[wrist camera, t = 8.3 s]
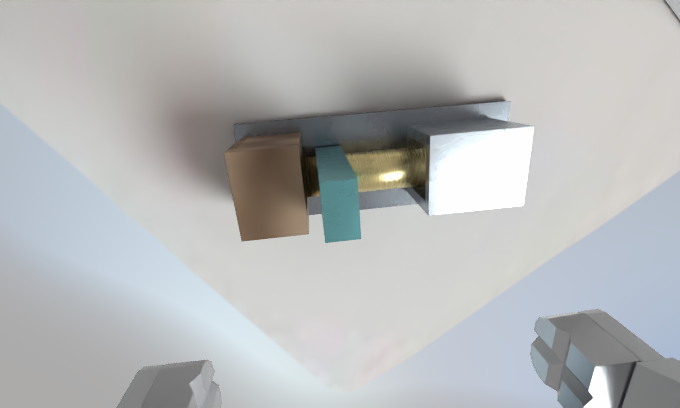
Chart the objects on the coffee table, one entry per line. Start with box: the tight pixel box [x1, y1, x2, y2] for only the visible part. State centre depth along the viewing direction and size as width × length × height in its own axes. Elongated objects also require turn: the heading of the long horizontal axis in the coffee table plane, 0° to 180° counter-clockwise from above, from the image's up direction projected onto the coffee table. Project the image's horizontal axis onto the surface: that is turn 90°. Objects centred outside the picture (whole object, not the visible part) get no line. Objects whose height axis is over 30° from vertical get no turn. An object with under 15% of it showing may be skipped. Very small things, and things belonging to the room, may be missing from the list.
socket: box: [224, 133, 309, 241], centre depth 24 cm, size 4×6×6 cm
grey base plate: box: [233, 101, 534, 215], centre depth 25 cm, size 22×8×6 cm, turn 94°
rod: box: [300, 146, 426, 243], centre depth 22 cm, size 13×4×10 cm, turn 94°
